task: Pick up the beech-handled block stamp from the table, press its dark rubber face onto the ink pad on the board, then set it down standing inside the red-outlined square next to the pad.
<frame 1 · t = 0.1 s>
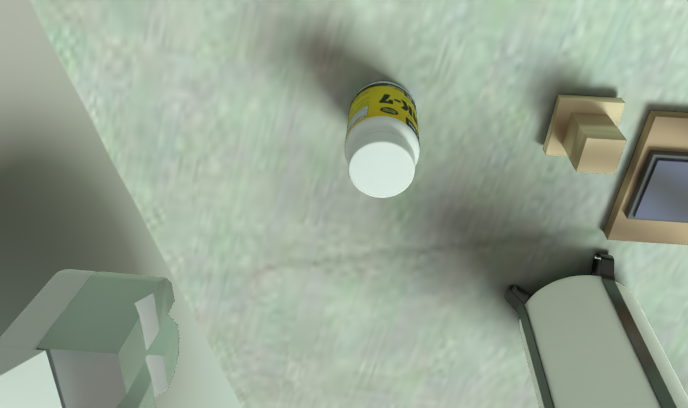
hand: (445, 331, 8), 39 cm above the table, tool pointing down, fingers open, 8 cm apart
stamp: (579, 121, 48), on the table
coffee press: (578, 307, 60), on the table
supplement bottle: (382, 109, 49), on the table
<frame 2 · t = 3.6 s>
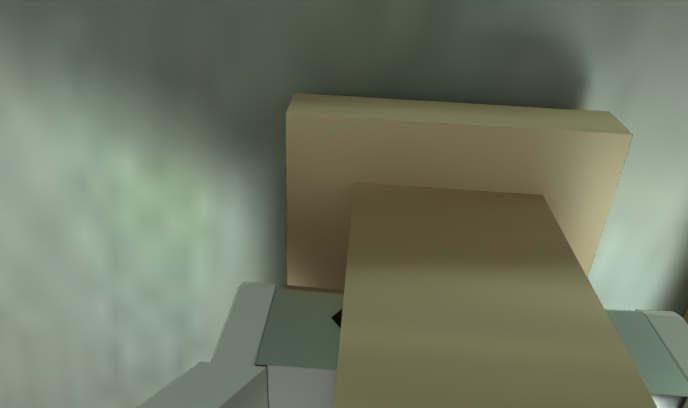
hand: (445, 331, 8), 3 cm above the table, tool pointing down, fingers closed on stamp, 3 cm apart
stamp: (429, 221, 11), on the table, touching gripper
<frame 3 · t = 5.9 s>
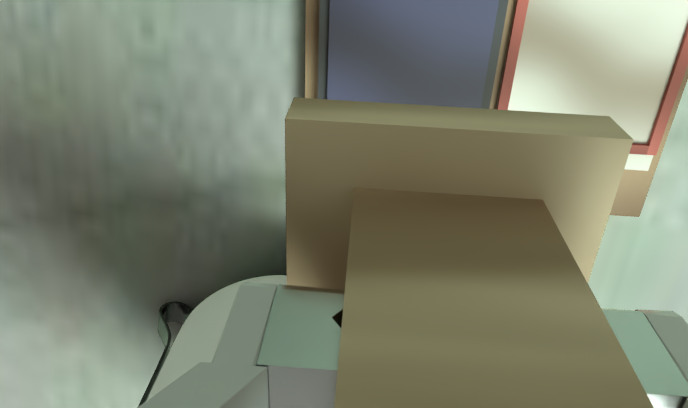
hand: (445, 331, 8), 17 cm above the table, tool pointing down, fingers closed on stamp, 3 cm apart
stamp: (429, 225, 11), point 14 cm above the table, touching gripper
station board: (490, 54, 23), on the table
coffee press: (314, 346, 32), on the table
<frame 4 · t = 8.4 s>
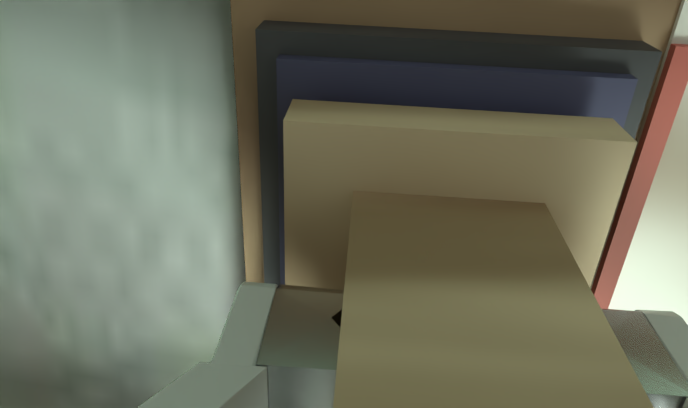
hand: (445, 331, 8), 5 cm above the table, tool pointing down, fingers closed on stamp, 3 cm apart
stamp: (429, 228, 11), point 2 cm above the table, touching gripper, station board
station board: (579, 181, 13), on the table
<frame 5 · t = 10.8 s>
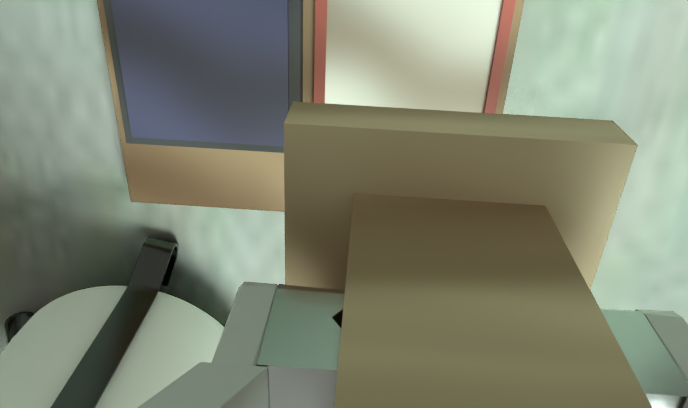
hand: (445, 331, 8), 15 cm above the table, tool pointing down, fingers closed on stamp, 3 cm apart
stamp: (430, 230, 11), point 12 cm above the table, touching gripper
station board: (309, 52, 21), on the table
coffee press: (178, 357, 30), on the table
when the fingers open (5 cm above the table, at t = 12.8 s): stamp stays where it is, resting on station board.
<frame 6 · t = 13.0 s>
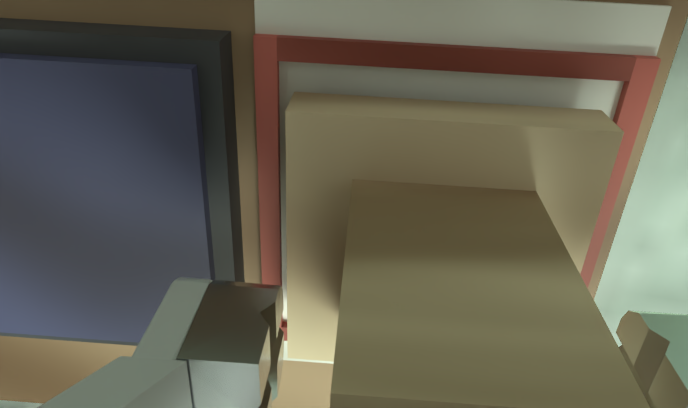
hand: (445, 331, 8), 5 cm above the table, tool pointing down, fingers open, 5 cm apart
stamp: (426, 217, 11), point 1 cm above the table, touching station board
station board: (256, 176, 12), on the table
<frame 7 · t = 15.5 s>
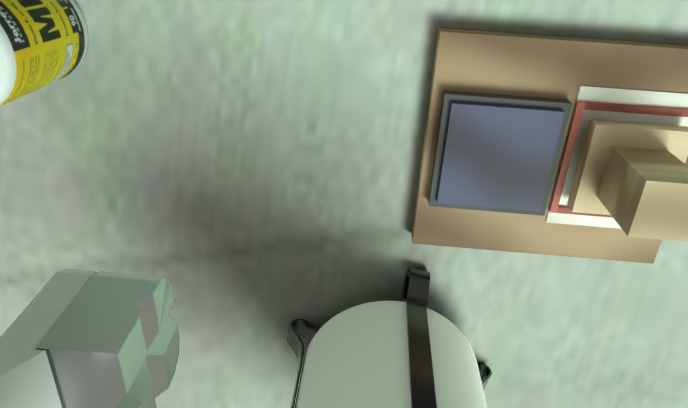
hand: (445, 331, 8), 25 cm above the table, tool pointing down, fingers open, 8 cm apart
stamp: (621, 163, 32), point 1 cm above the table, touching station board
station board: (550, 149, 33), on the table
coffee press: (402, 355, 41), on the table
supplement bottle: (43, 26, 32), on the table
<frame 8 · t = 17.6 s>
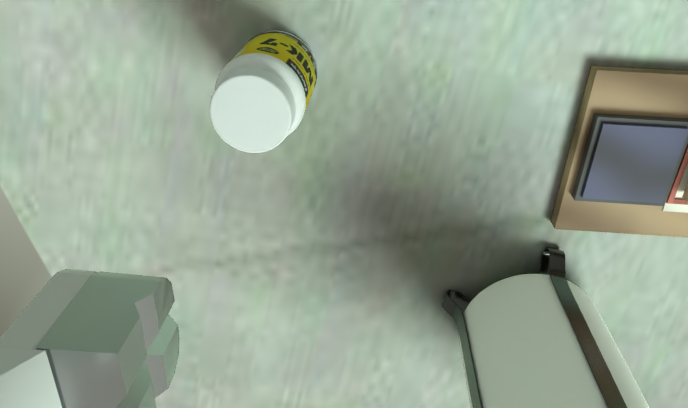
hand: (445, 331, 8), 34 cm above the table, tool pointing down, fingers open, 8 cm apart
station board: (668, 155, 43), on the table
coffee press: (530, 317, 51), on the table
supplement bottle: (279, 67, 41), on the table
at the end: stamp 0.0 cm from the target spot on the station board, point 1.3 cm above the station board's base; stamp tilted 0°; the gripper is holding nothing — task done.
